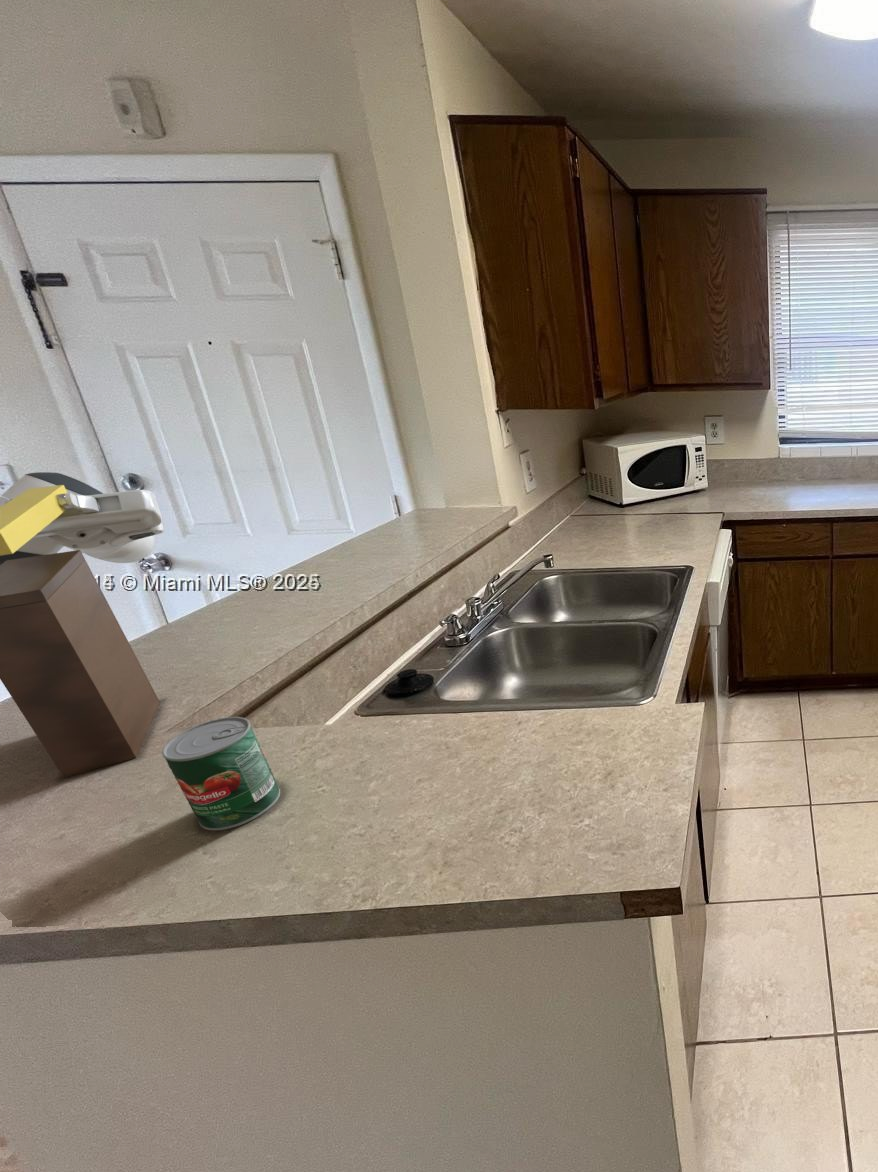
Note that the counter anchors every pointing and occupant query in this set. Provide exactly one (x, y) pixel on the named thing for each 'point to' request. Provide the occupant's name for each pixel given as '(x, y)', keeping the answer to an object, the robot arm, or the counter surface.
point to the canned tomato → (222, 772)
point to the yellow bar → (28, 516)
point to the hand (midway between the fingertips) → (39, 501)
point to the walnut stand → (71, 663)
